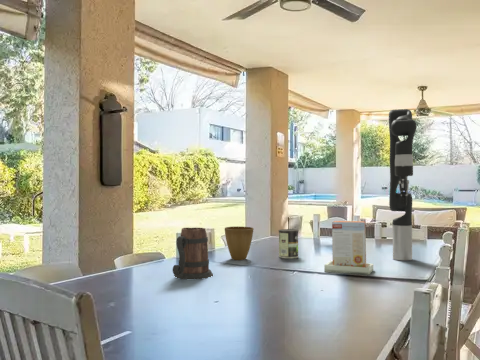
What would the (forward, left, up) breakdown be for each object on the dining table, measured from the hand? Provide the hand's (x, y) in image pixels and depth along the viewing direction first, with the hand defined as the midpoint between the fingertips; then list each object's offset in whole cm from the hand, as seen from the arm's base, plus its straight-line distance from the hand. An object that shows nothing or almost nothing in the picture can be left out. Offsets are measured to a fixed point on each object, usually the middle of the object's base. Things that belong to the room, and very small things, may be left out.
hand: (404, 204), depth 203 cm
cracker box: (+11, -22, -28) cm, 37 cm away
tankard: (+49, -80, -29) cm, 98 cm away
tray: (+11, -22, -29) cm, 38 cm away
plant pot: (+1, -80, -29) cm, 85 cm away
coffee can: (-15, -59, -29) cm, 68 cm away
